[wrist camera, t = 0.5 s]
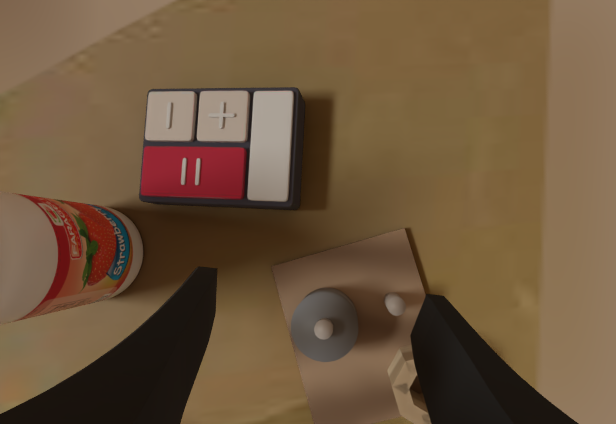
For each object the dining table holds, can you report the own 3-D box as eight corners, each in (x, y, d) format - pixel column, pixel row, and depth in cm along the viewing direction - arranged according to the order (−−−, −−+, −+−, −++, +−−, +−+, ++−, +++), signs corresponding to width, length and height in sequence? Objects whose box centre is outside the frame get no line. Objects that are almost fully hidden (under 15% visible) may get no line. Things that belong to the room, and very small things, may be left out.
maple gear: (460, 398, 35) (475, 418, 31) (400, 413, 35) (406, 435, 31) (441, 336, 35) (453, 349, 31) (381, 352, 36) (385, 366, 32)
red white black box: (142, 85, 37) (297, 83, 35) (165, 101, 42) (305, 100, 39) (133, 200, 37) (291, 206, 34) (157, 204, 41) (300, 210, 38)
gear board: (457, 399, 35) (477, 429, 30) (318, 433, 36) (312, 468, 31) (403, 228, 37) (413, 225, 31) (272, 265, 38) (259, 270, 32)
